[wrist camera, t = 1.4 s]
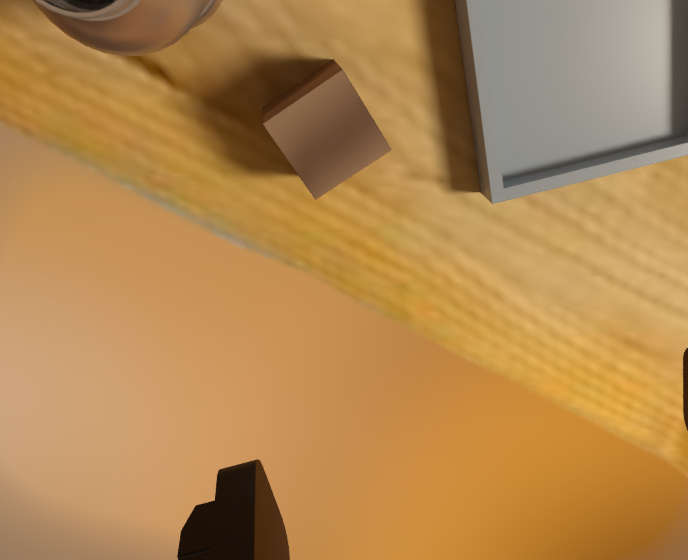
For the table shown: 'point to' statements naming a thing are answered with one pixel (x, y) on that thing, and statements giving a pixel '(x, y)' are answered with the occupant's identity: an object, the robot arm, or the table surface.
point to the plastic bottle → (127, 22)
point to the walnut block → (324, 129)
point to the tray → (572, 89)
